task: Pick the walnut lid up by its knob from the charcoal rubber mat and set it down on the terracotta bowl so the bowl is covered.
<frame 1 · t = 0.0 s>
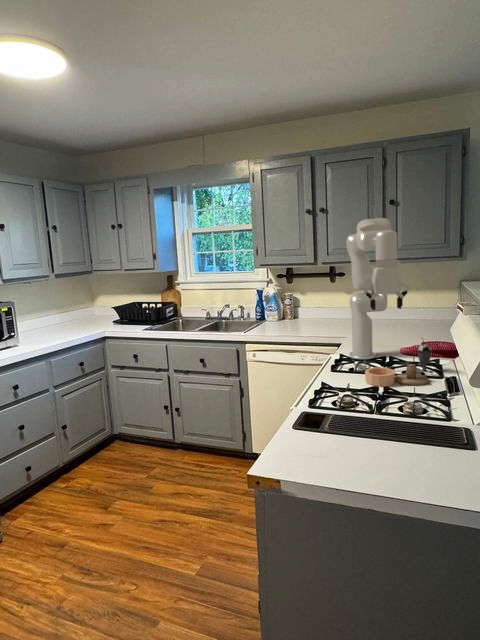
hand: (386, 309, 170), 31 cm above the countertop, fingers open, 9 cm apart
mat: (411, 382, 179), on the countertop
sundae: (424, 372, 190), on the countertop
bowl: (380, 383, 180), on the countertop
lid: (411, 380, 179), point 1 cm above the countertop, touching mat
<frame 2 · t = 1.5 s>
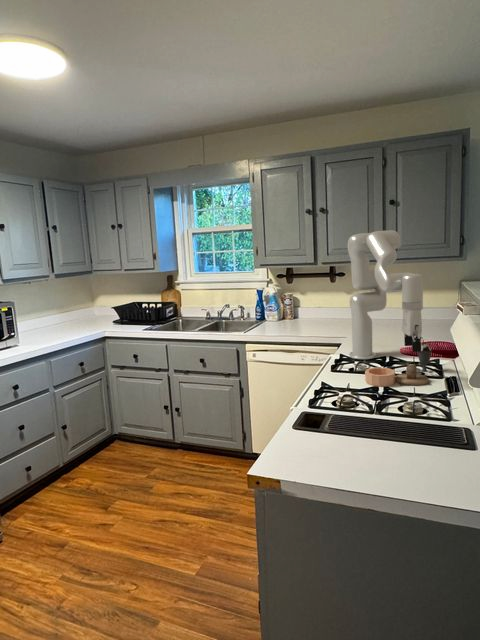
hand: (412, 348, 176), 14 cm above the countertop, fingers open, 9 cm apart
nothing on the countertop moved.
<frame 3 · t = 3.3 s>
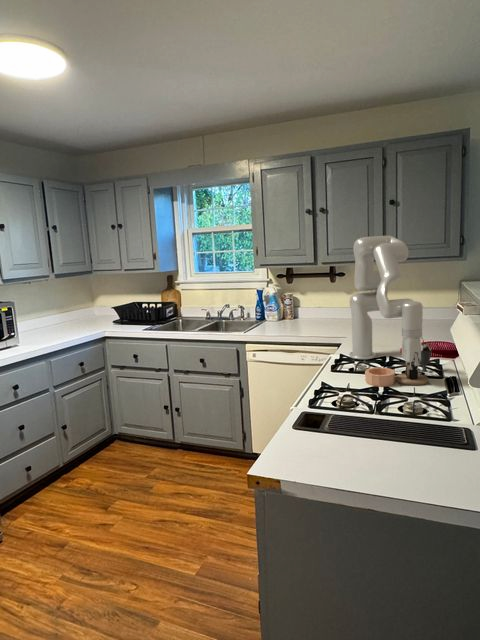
hand: (411, 376, 179), 2 cm above the countertop, fingers closed on lid, 3 cm apart
lid: (411, 380, 179), point 1 cm above the countertop, touching gripper, mat
everything else where it was.
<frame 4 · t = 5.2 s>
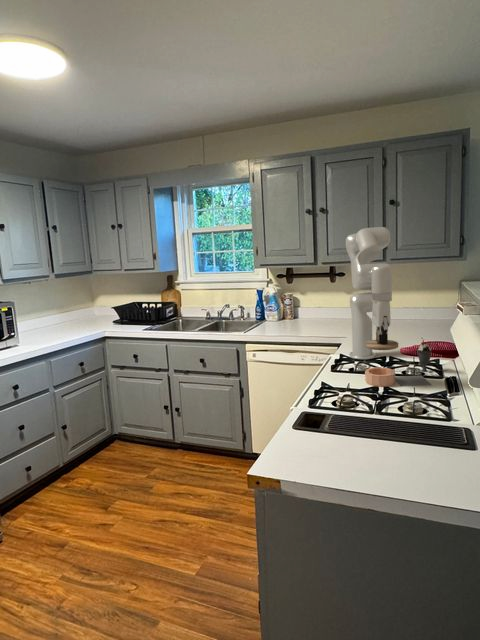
hand: (381, 342, 177), 17 cm above the countertop, fingers closed on lid, 3 cm apart
lid: (381, 346, 177), point 15 cm above the countertop, touching gripper
everything else where it was.
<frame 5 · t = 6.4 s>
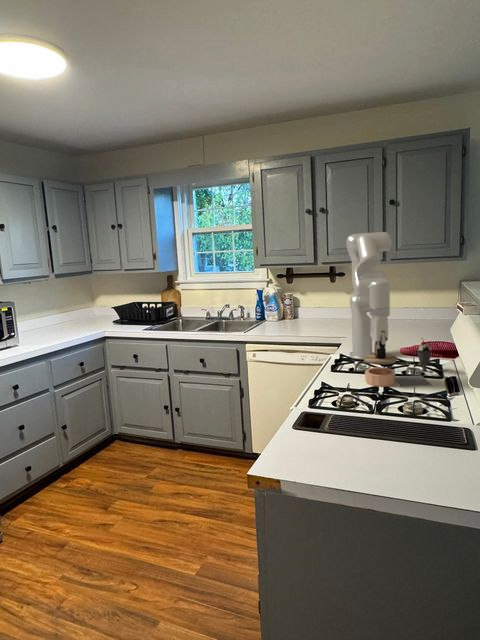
hand: (380, 356, 178), 11 cm above the countertop, fingers closed on lid, 3 cm apart
lid: (380, 360, 178), point 10 cm above the countertop, touching gripper
everything else where it was.
when the fingers open (8 cm above the countertop, at t = 7.2 s): lid drops 2 cm, resting on bowl.
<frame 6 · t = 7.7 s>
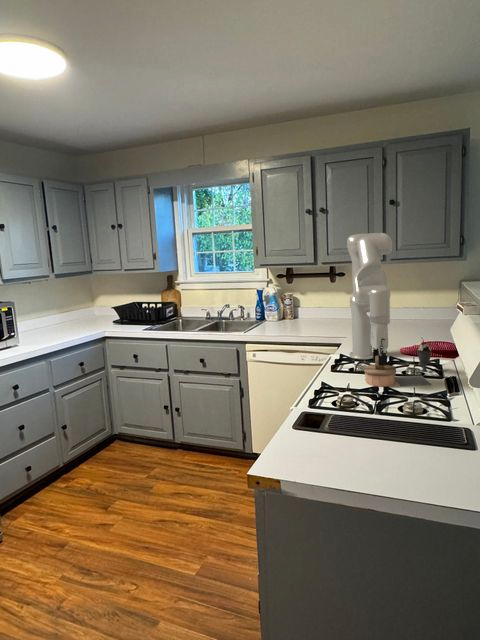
hand: (379, 361, 178), 9 cm above the countertop, fingers open, 8 cm apart
lid: (379, 371, 179), point 5 cm above the countertop, touching bowl
everything else where it was.
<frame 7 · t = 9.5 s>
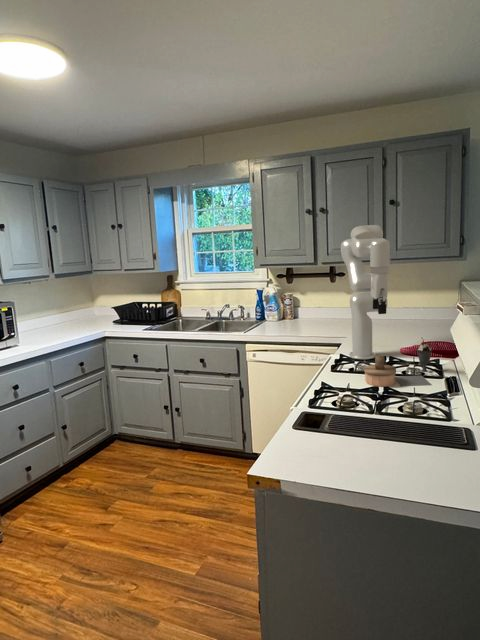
hand: (379, 311, 186), 28 cm above the countertop, fingers open, 9 cm apart
nothing on the countertop moved.
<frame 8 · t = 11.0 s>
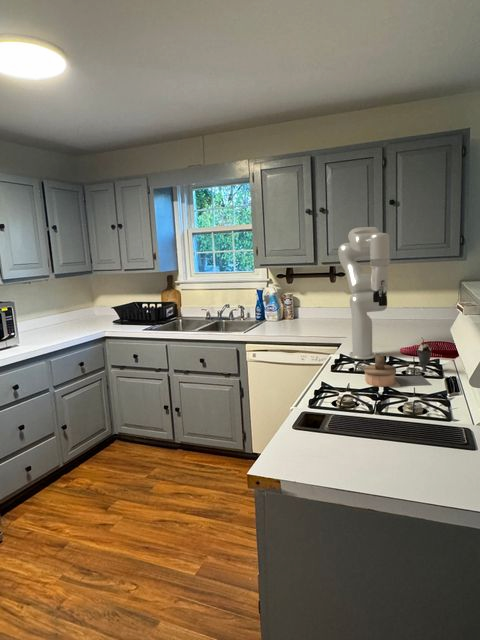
hand: (379, 303, 188), 30 cm above the countertop, fingers open, 9 cm apart
nothing on the countertop moved.
at the end: lid 0.1 cm from the bowl (horizontally); lid 0.1 cm off-centre on the bowl, point 5.0 cm above the bowl's base; lid tilted 0° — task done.
